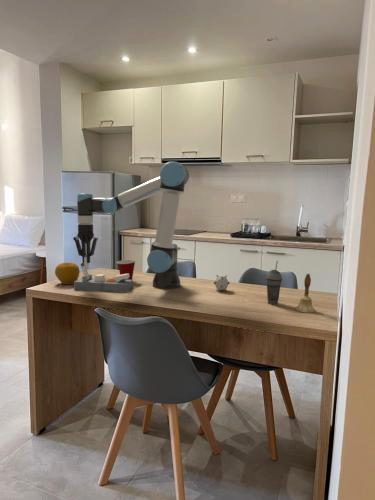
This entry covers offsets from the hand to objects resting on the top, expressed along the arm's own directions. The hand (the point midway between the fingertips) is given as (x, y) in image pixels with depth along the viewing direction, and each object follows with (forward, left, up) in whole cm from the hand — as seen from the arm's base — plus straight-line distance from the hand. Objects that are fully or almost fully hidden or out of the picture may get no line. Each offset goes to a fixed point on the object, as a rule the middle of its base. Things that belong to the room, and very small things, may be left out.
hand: (86, 269), depth 189 cm
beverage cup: (-94, +13, -10) cm, 96 cm away
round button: (-13, 0, -9) cm, 16 cm away
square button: (-7, 0, -7) cm, 10 cm away
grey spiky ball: (-70, -6, -10) cm, 71 cm away
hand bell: (-107, +21, -10) cm, 110 cm away
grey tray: (-9, 0, -10) cm, 13 cm away
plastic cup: (-16, -17, -10) cm, 26 cm away
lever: (0, 0, -5) cm, 5 cm away
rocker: (-19, 0, -3) cm, 19 cm away
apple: (+14, -7, -10) cm, 19 cm away
